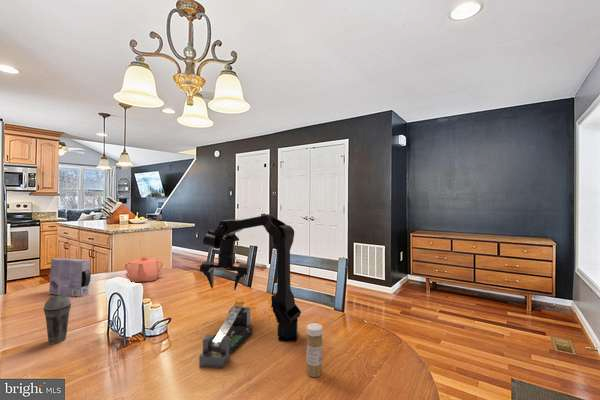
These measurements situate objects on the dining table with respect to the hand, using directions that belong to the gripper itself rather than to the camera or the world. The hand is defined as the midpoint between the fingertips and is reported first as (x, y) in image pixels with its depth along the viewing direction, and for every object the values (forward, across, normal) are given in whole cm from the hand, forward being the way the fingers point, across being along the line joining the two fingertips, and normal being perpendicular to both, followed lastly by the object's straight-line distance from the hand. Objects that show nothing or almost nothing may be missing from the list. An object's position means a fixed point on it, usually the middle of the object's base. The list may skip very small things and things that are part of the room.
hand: (223, 288), depth 116 cm
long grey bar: (+6, -7, +17) cm, 19 cm away
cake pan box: (+20, +82, -28) cm, 89 cm away
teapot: (+19, +58, -52) cm, 80 cm away
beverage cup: (+16, +51, +18) cm, 56 cm away
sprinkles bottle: (+9, -35, +35) cm, 51 cm away
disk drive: (+12, -7, +17) cm, 22 cm away
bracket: (+12, -7, +18) cm, 22 cm away
